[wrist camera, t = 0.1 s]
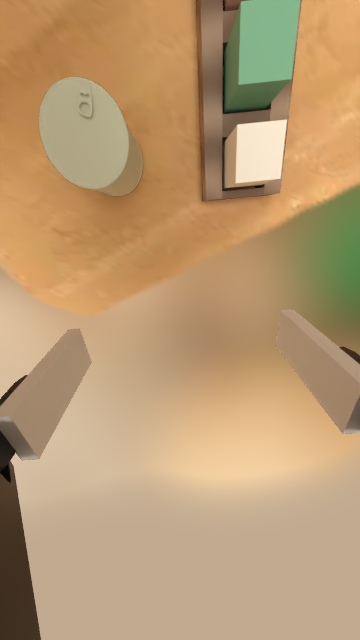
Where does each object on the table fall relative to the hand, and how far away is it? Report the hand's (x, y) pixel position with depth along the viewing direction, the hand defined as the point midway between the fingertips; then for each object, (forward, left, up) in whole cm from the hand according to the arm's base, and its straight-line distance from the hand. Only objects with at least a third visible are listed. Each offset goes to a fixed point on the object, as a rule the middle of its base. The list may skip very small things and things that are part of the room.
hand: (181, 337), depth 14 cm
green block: (-21, +11, -25) cm, 34 cm away
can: (-15, -8, -28) cm, 33 cm away
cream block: (-13, +11, -25) cm, 30 cm away
